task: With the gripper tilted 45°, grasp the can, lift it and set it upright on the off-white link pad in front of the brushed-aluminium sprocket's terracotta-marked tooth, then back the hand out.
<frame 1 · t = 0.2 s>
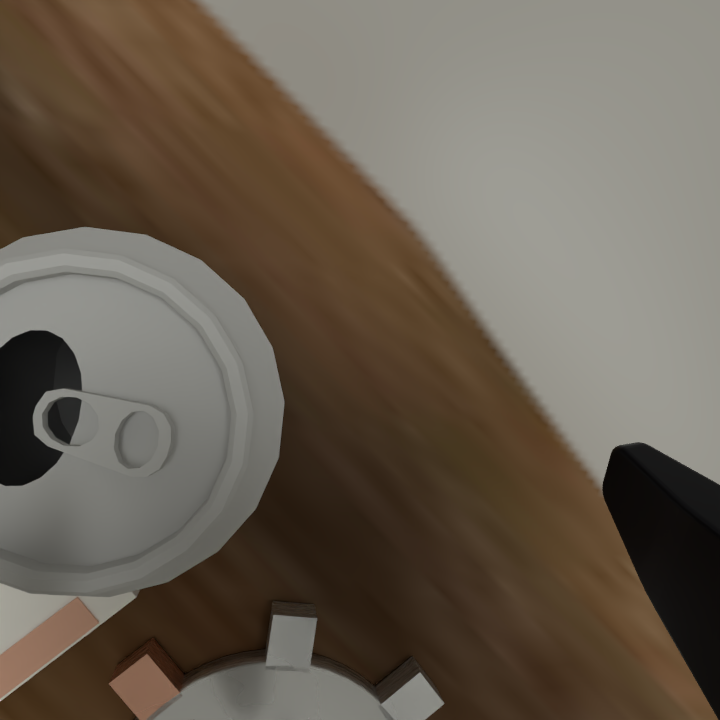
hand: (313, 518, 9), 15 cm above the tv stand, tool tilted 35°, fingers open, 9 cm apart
can: (171, 379, 23), on the tv stand
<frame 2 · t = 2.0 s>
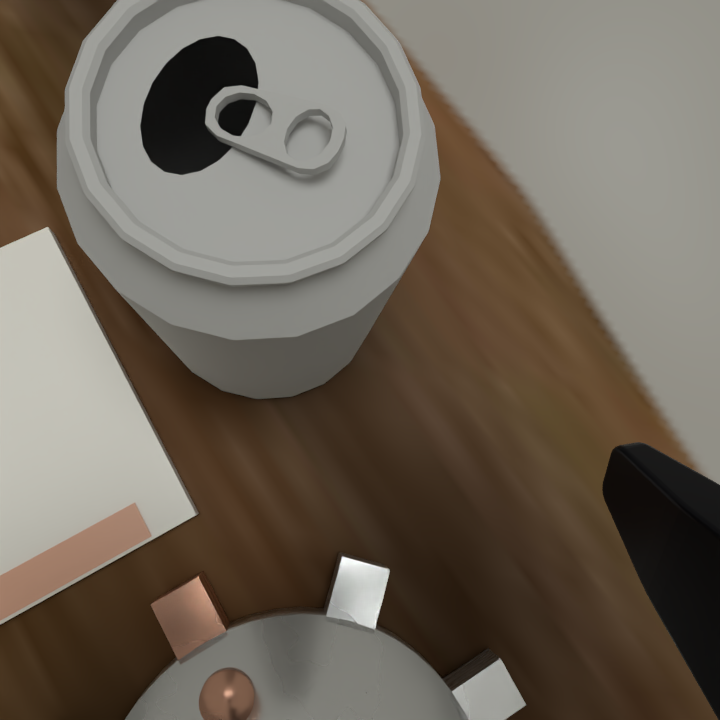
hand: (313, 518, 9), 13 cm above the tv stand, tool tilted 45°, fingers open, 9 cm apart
can: (268, 299, 23), on the tv stand
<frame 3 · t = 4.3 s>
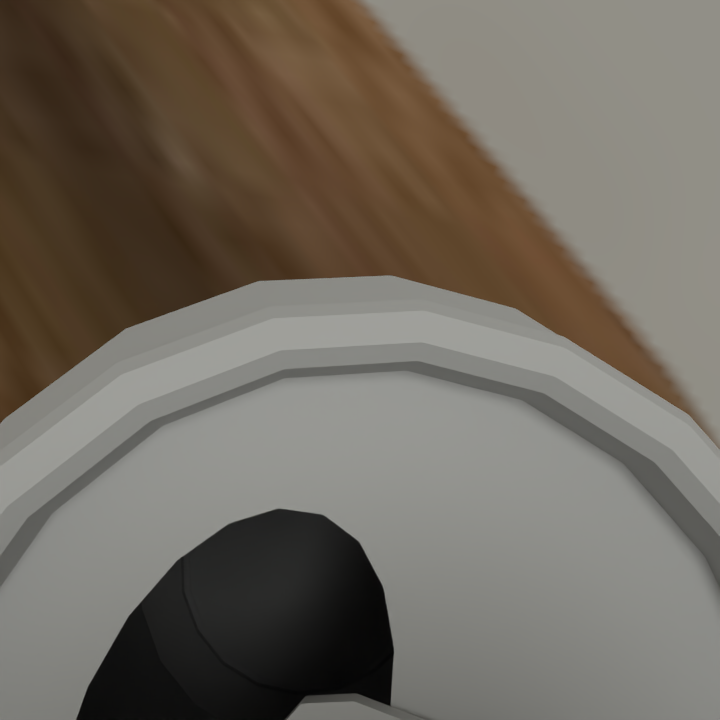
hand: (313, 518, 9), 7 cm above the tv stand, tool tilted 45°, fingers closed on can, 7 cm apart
can: (309, 556, 15), on the tv stand, touching gripper
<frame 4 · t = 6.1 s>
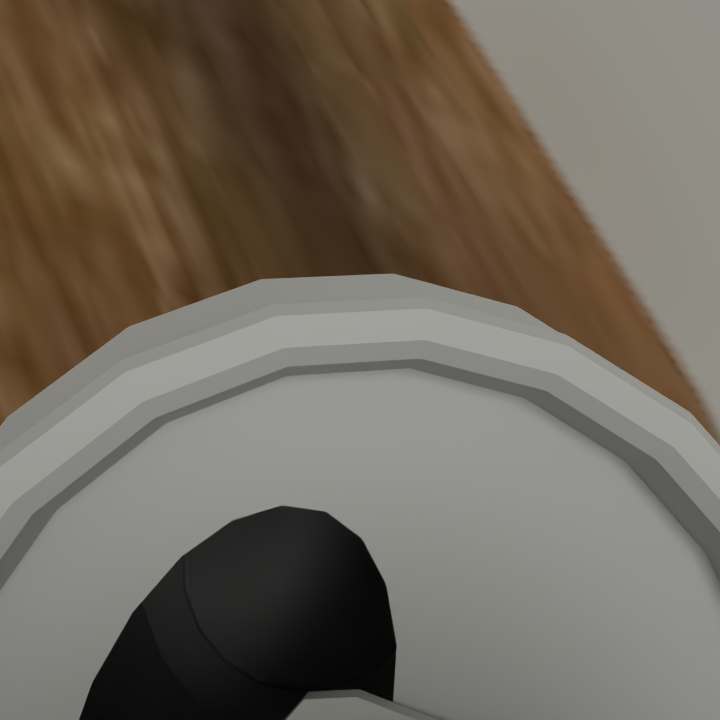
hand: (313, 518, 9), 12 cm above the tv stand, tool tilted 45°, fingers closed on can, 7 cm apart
can: (310, 554, 15), point 5 cm above the tv stand, touching gripper
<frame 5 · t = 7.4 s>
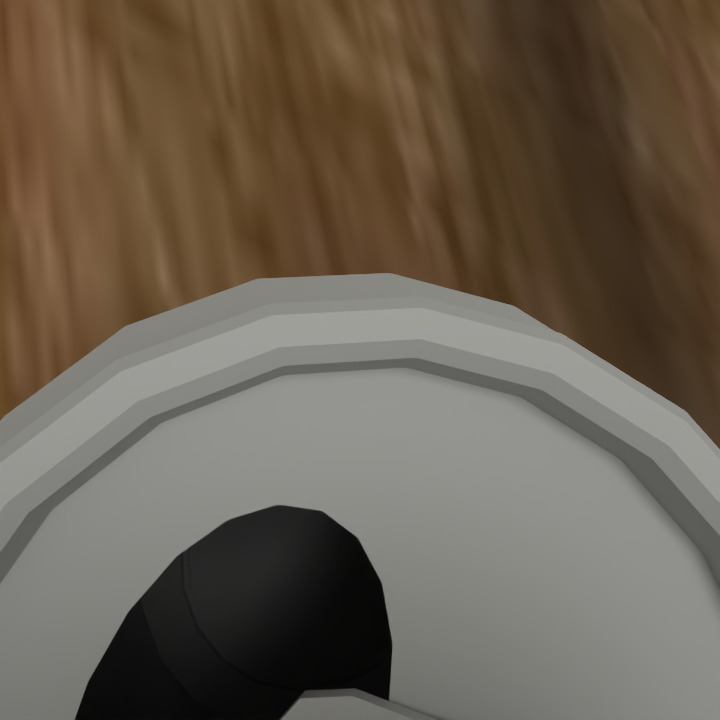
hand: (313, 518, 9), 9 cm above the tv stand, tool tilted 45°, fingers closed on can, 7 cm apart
can: (308, 553, 15), point 2 cm above the tv stand, touching gripper
when the fingers open (8 cm above the tv stand, at t = 8.2 s): can stays where it is, resting on link pad.
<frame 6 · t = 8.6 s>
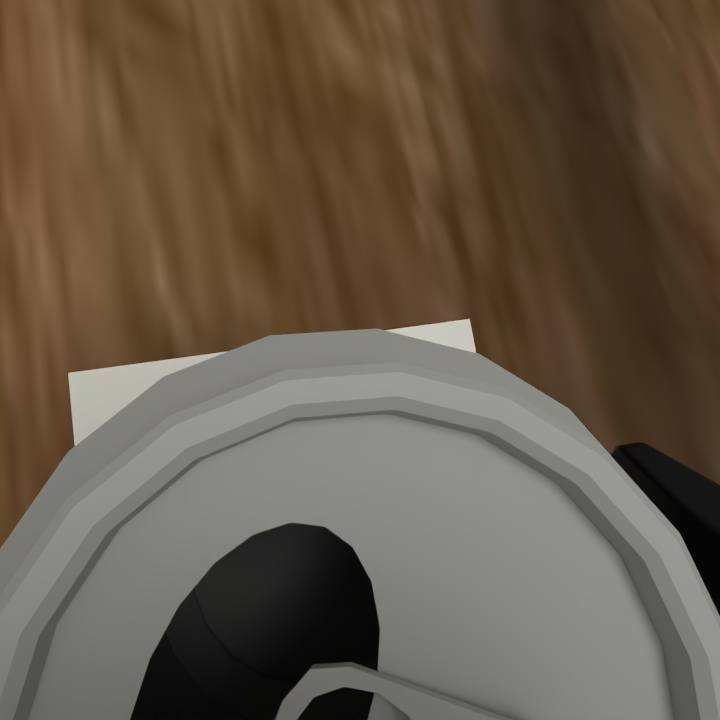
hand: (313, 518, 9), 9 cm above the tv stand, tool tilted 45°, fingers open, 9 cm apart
can: (309, 556, 16), resting on link pad
link pad: (306, 546, 17), on the tv stand
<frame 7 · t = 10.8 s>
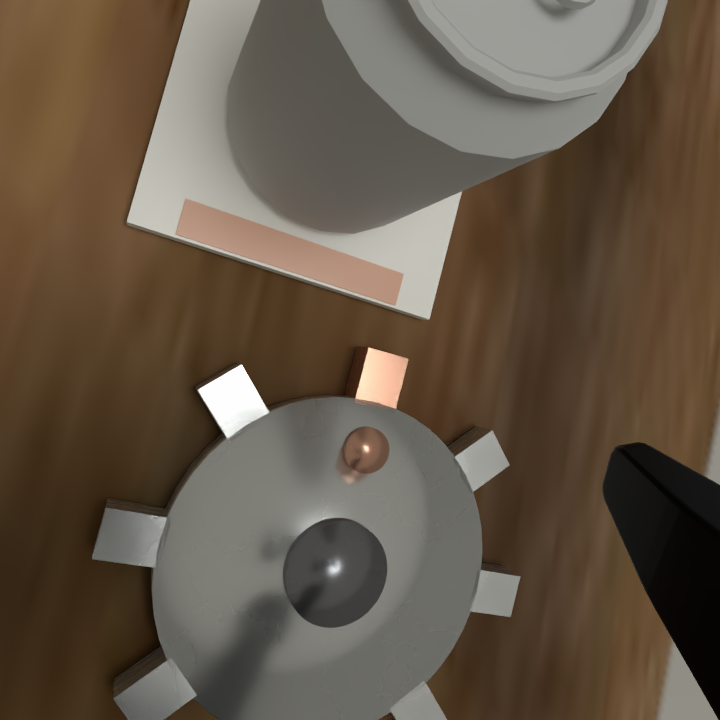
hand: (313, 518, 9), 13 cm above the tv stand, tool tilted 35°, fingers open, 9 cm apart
can: (329, 131, 22), resting on link pad
sprocket: (323, 557, 23), on the tv stand
link pad: (326, 129, 22), on the tv stand
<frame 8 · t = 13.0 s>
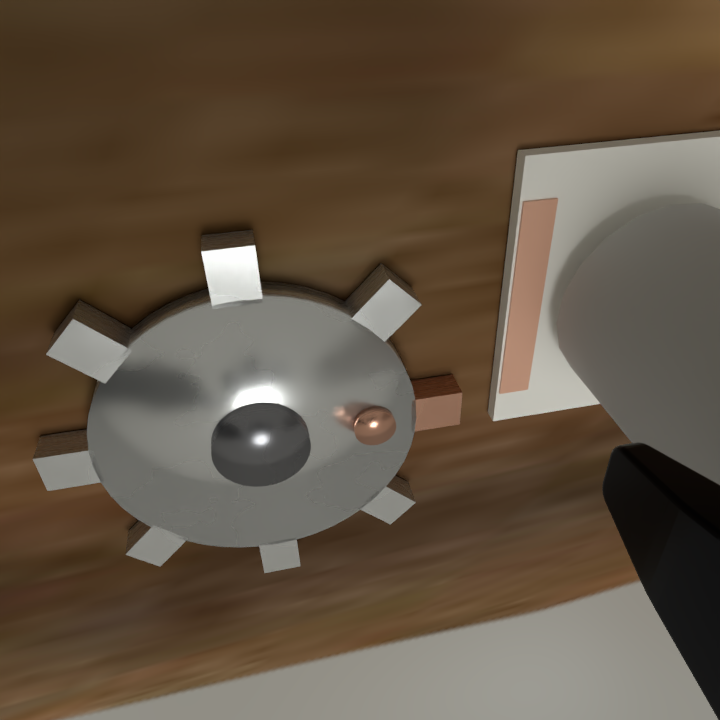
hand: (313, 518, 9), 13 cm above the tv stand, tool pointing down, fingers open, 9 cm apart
can: (636, 287, 24), resting on link pad
sprocket: (258, 419, 24), on the tv stand
link pad: (636, 281, 24), on the tv stand
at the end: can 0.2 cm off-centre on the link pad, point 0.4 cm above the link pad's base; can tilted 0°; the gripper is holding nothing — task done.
